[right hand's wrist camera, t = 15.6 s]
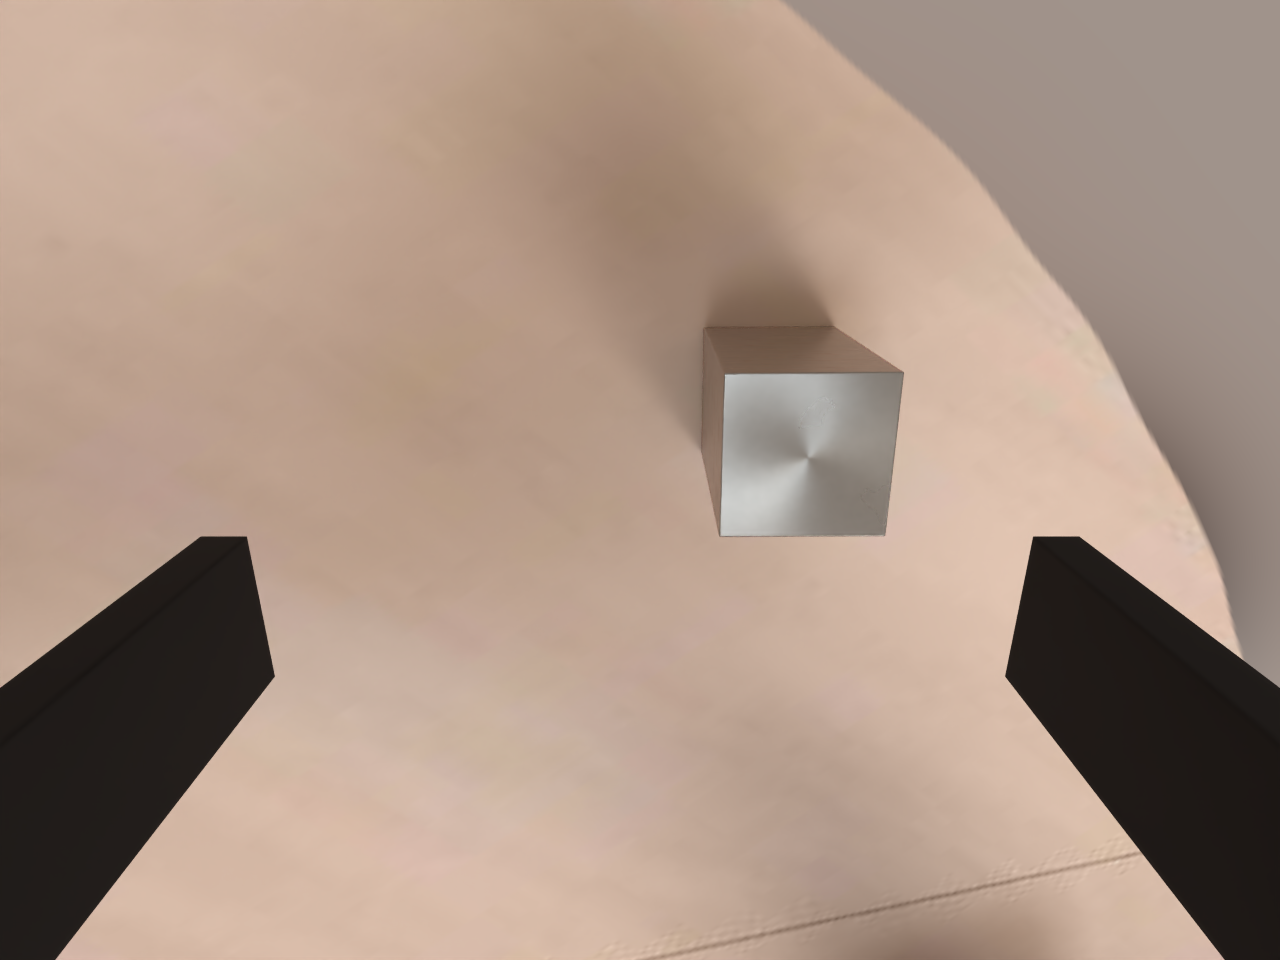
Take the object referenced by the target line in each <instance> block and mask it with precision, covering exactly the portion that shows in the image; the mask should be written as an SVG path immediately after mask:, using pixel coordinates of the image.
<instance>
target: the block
mask: <svg viewBox="0 0 1280 960" xmlns="http://www.w3.org/2000/svg"><path fill="white" fill-rule="evenodd" d="M903 376H904V372H903V371H901V370H900V369H898V368H897V367H895V366H894V365H892V364H891V363H889V362H888V361H886V360H885V359H883V358H881V357H880V356H878V355H877V354H875V353H874V352H872V351H871V350H869V349H868V348H866V347H865V346H863V345H862V344H860V343H859V342H857V341H856V340H854V339H853V338H851V337H850V336H848V335H847V334H845V333H844V332H842V331H840V330H839V329H837V328H836V327H723V328H704V345H703V395H702V445H701V452H702V457H703V462H704V467H705V471H706V476H707V481H708V485H709V490H710V495H711V500H712V504H713V509H714V514H715V519H716V523H717V528H718V533H719V536H720V537H786V536H885V533H886V524H887V516H888V507H889V498H890V490H891V481H892V472H893V463H894V455H895V446H896V437H897V429H898V420H899V411H900V402H901V394H902V385H903Z"/></svg>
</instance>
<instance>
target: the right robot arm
mask: <svg viewBox="0 0 1280 960" xmlns="http://www.w3.org/2000/svg"><path fill="white" fill-rule="evenodd" d="M274 677H275V675H274V670H273V665H272V660H271V655H270V650H269V645H268V640H267V635H266V630H265V625H264V620H263V615H262V610H261V605H260V600H259V595H258V590H257V585H256V580H255V575H254V570H253V565H252V560H251V555H250V550H249V545H248V540H247V537H200V538H198V539H197V540H196V541H194V542H193V543H192V544H190V545H189V546H188V547H186V548H185V549H184V550H182V551H181V552H180V553H178V554H177V555H176V556H174V557H173V558H172V559H170V560H169V561H168V562H166V563H165V564H164V565H163V566H161V567H160V568H159V569H157V570H156V571H155V572H153V573H152V574H151V575H149V576H148V577H147V578H145V579H144V580H143V581H141V582H140V583H139V584H137V585H136V586H135V587H133V588H132V589H131V590H129V591H128V592H127V593H125V594H124V595H123V596H121V597H120V598H119V599H117V600H116V601H115V602H113V603H112V604H111V605H110V606H108V607H107V608H106V609H104V610H103V611H102V612H100V613H99V614H98V615H96V616H95V617H94V618H92V619H91V620H90V621H88V622H87V623H86V624H84V625H83V626H82V627H80V628H79V629H78V630H76V631H75V632H74V633H72V634H71V635H70V636H68V637H67V638H66V639H64V640H63V641H62V642H60V643H59V644H58V645H56V646H55V647H54V648H53V649H51V650H50V651H49V652H47V653H46V654H45V655H43V656H42V657H41V658H39V659H38V660H37V661H35V662H34V663H33V664H31V665H30V666H29V667H27V668H26V669H25V670H23V671H22V672H21V673H19V674H18V675H17V676H15V677H14V678H13V679H11V680H10V681H9V682H7V683H6V684H5V685H3V686H2V687H1V688H0V960H55V959H56V958H57V957H58V956H59V954H60V953H61V952H62V950H63V949H64V948H65V947H66V945H67V944H68V943H69V941H70V940H71V939H72V938H73V936H74V935H75V934H76V932H77V931H78V930H79V929H80V927H81V926H82V925H83V923H84V922H85V921H86V919H87V918H88V917H89V916H90V914H91V913H92V912H93V910H94V909H95V908H96V907H97V905H98V904H99V903H100V901H101V900H102V899H103V898H104V896H105V895H106V894H107V892H108V891H109V890H110V889H111V887H112V886H113V885H114V883H115V882H116V881H117V879H118V878H119V877H120V876H121V874H122V873H123V872H124V870H125V869H126V868H127V867H128V865H129V864H130V863H131V861H132V860H133V859H134V858H135V856H136V855H137V854H138V852H139V851H140V850H141V849H142V847H143V846H144V845H145V843H146V842H147V841H148V839H149V838H150V837H151V836H152V834H153V833H154V832H155V830H156V829H157V828H158V827H159V825H160V824H161V823H162V821H163V820H164V819H165V818H166V816H167V815H168V814H169V812H170V811H171V810H172V809H173V807H174V806H175V805H176V803H177V802H178V801H179V799H180V798H181V797H182V796H183V794H184V793H185V792H186V790H187V789H188V788H189V787H190V785H191V784H192V783H193V781H194V780H195V779H196V778H197V776H198V775H199V774H200V772H201V771H202V770H203V769H204V767H205V766H206V765H207V763H208V762H209V761H210V759H211V758H212V757H213V756H214V754H215V753H216V752H217V750H218V749H219V748H220V747H221V745H222V744H223V743H224V741H225V740H226V739H227V738H228V736H229V735H230V734H231V732H232V731H233V730H234V728H235V727H236V726H237V725H238V723H239V722H240V721H241V719H242V718H243V717H244V716H245V714H246V713H247V712H248V710H249V709H250V708H251V707H252V705H253V704H254V703H255V701H256V700H257V699H258V698H259V696H260V695H261V694H262V692H263V691H264V690H265V688H266V687H267V686H268V685H269V683H270V682H271V681H272V679H273V678H274ZM1005 677H1006V678H1007V679H1008V681H1009V682H1010V683H1011V685H1012V686H1013V687H1014V688H1015V690H1016V691H1017V692H1018V694H1019V695H1020V696H1021V698H1022V699H1023V700H1024V701H1025V703H1026V704H1027V705H1028V707H1029V708H1030V709H1031V710H1032V712H1033V713H1034V714H1035V716H1036V717H1037V718H1038V719H1039V721H1040V722H1041V723H1042V725H1043V726H1044V727H1045V728H1046V730H1047V731H1048V732H1049V734H1050V735H1051V736H1052V738H1053V739H1054V740H1055V741H1056V743H1057V744H1058V745H1059V747H1060V748H1061V749H1062V750H1063V752H1064V753H1065V754H1066V756H1067V757H1068V758H1069V759H1070V761H1071V762H1072V763H1073V765H1074V766H1075V767H1076V769H1077V770H1078V771H1079V772H1080V774H1081V775H1082V776H1083V778H1084V779H1085V780H1086V781H1087V783H1088V784H1089V785H1090V787H1091V788H1092V789H1093V790H1094V792H1095V793H1096V794H1097V796H1098V797H1099V798H1100V799H1101V801H1102V802H1103V803H1104V805H1105V806H1106V807H1107V809H1108V810H1109V811H1110V812H1111V814H1112V815H1113V816H1114V818H1115V819H1116V820H1117V821H1118V823H1119V824H1120V825H1121V827H1122V828H1123V829H1124V830H1125V832H1126V833H1127V834H1128V836H1129V837H1130V838H1131V839H1132V841H1133V842H1134V843H1135V845H1136V846H1137V847H1138V849H1139V850H1140V851H1141V852H1142V854H1143V855H1144V856H1145V858H1146V859H1147V860H1148V861H1149V863H1150V864H1151V865H1152V867H1153V868H1154V869H1155V870H1156V872H1157V873H1158V874H1159V876H1160V877H1161V878H1162V879H1163V881H1164V882H1165V883H1166V885H1167V886H1168V887H1169V889H1170V890H1171V891H1172V892H1173V894H1174V895H1175V896H1176V898H1177V899H1178V900H1179V901H1180V903H1181V904H1182V905H1183V907H1184V908H1185V909H1186V910H1187V912H1188V913H1189V914H1190V916H1191V917H1192V918H1193V919H1194V921H1195V922H1196V923H1197V925H1198V926H1199V927H1200V929H1201V930H1202V931H1203V932H1204V934H1205V935H1206V936H1207V938H1208V939H1209V940H1210V941H1211V943H1212V944H1213V945H1214V947H1215V948H1216V949H1217V950H1218V952H1219V953H1220V954H1221V956H1222V957H1223V958H1224V959H1225V960H1280V688H1279V687H1278V686H1277V685H1275V684H1274V683H1273V682H1271V681H1270V680H1269V679H1267V678H1266V677H1265V676H1263V675H1262V674H1261V673H1259V672H1258V671H1257V670H1255V669H1254V668H1253V667H1251V666H1250V665H1249V664H1247V663H1246V662H1245V661H1243V660H1242V659H1241V658H1239V657H1238V656H1237V655H1235V654H1234V653H1233V652H1231V651H1230V650H1229V649H1227V648H1226V647H1225V646H1224V645H1222V644H1221V643H1220V642H1218V641H1217V640H1216V639H1214V638H1213V637H1212V636H1210V635H1209V634H1208V633H1206V632H1205V631H1204V630H1202V629H1201V628H1200V627H1198V626H1197V625H1196V624H1194V623H1193V622H1192V621H1190V620H1189V619H1188V618H1186V617H1185V616H1184V615H1182V614H1181V613H1180V612H1178V611H1177V610H1176V609H1174V608H1173V607H1172V606H1170V605H1169V604H1168V603H1167V602H1165V601H1164V600H1163V599H1161V598H1160V597H1159V596H1157V595H1156V594H1155V593H1153V592H1152V591H1151V590H1149V589H1148V588H1147V587H1145V586H1144V585H1143V584H1141V583H1140V582H1139V581H1137V580H1136V579H1135V578H1133V577H1132V576H1131V575H1129V574H1128V573H1127V572H1125V571H1124V570H1123V569H1121V568H1120V567H1119V566H1117V565H1116V564H1115V563H1114V562H1112V561H1111V560H1110V559H1108V558H1107V557H1106V556H1104V555H1103V554H1102V553H1100V552H1099V551H1098V550H1096V549H1095V548H1094V547H1092V546H1091V545H1090V544H1088V543H1087V542H1086V541H1084V540H1083V539H1082V538H1080V537H1033V540H1032V545H1031V550H1030V555H1029V560H1028V565H1027V570H1026V575H1025V580H1024V585H1023V590H1022V595H1021V600H1020V605H1019V610H1018V615H1017V620H1016V625H1015V630H1014V635H1013V640H1012V645H1011V650H1010V655H1009V660H1008V665H1007V670H1006V675H1005Z"/></svg>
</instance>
